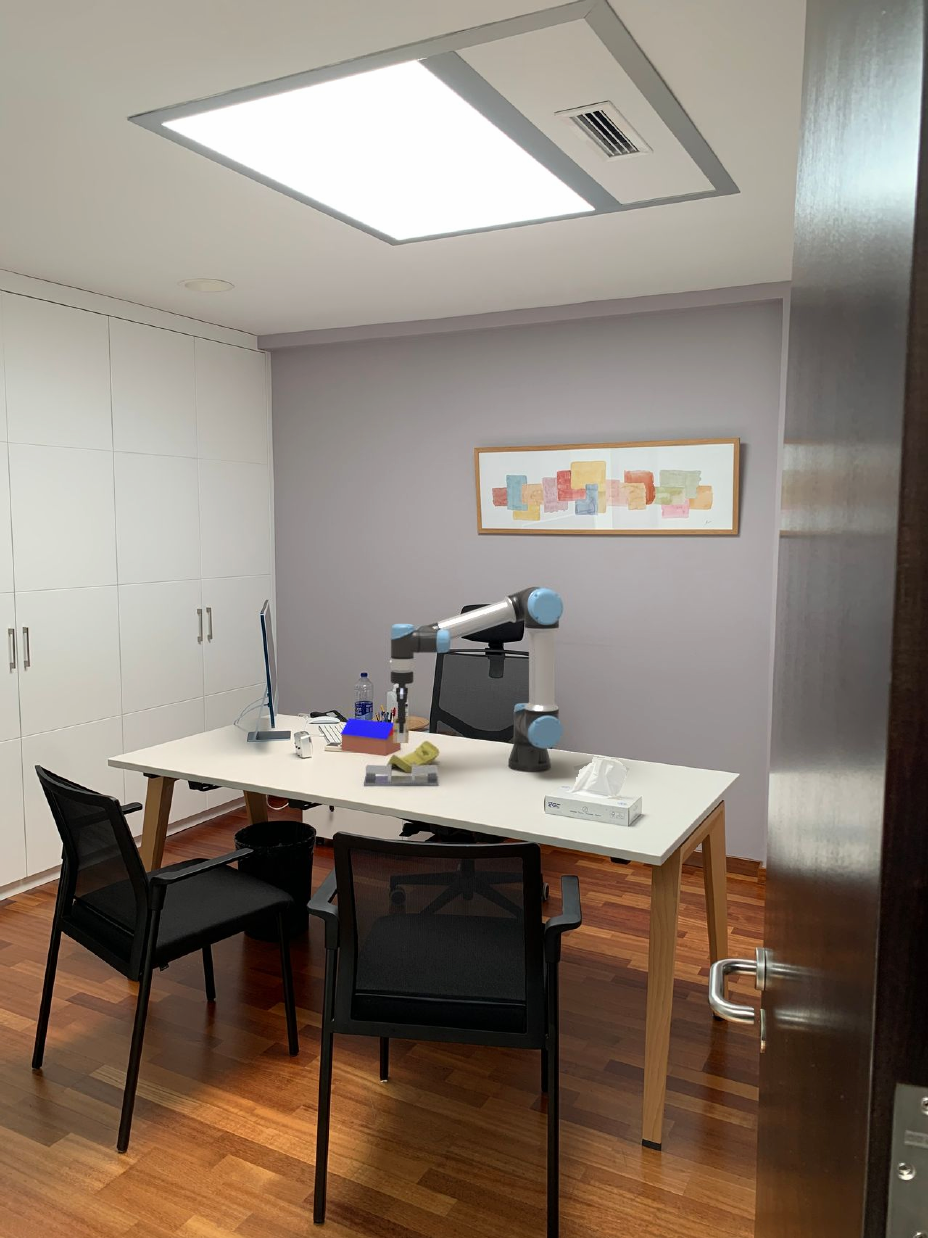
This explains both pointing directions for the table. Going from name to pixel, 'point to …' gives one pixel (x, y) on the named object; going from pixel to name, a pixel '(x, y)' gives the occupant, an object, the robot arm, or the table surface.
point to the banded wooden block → (396, 729)
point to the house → (369, 737)
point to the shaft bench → (401, 780)
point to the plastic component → (416, 757)
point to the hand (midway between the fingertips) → (401, 740)
